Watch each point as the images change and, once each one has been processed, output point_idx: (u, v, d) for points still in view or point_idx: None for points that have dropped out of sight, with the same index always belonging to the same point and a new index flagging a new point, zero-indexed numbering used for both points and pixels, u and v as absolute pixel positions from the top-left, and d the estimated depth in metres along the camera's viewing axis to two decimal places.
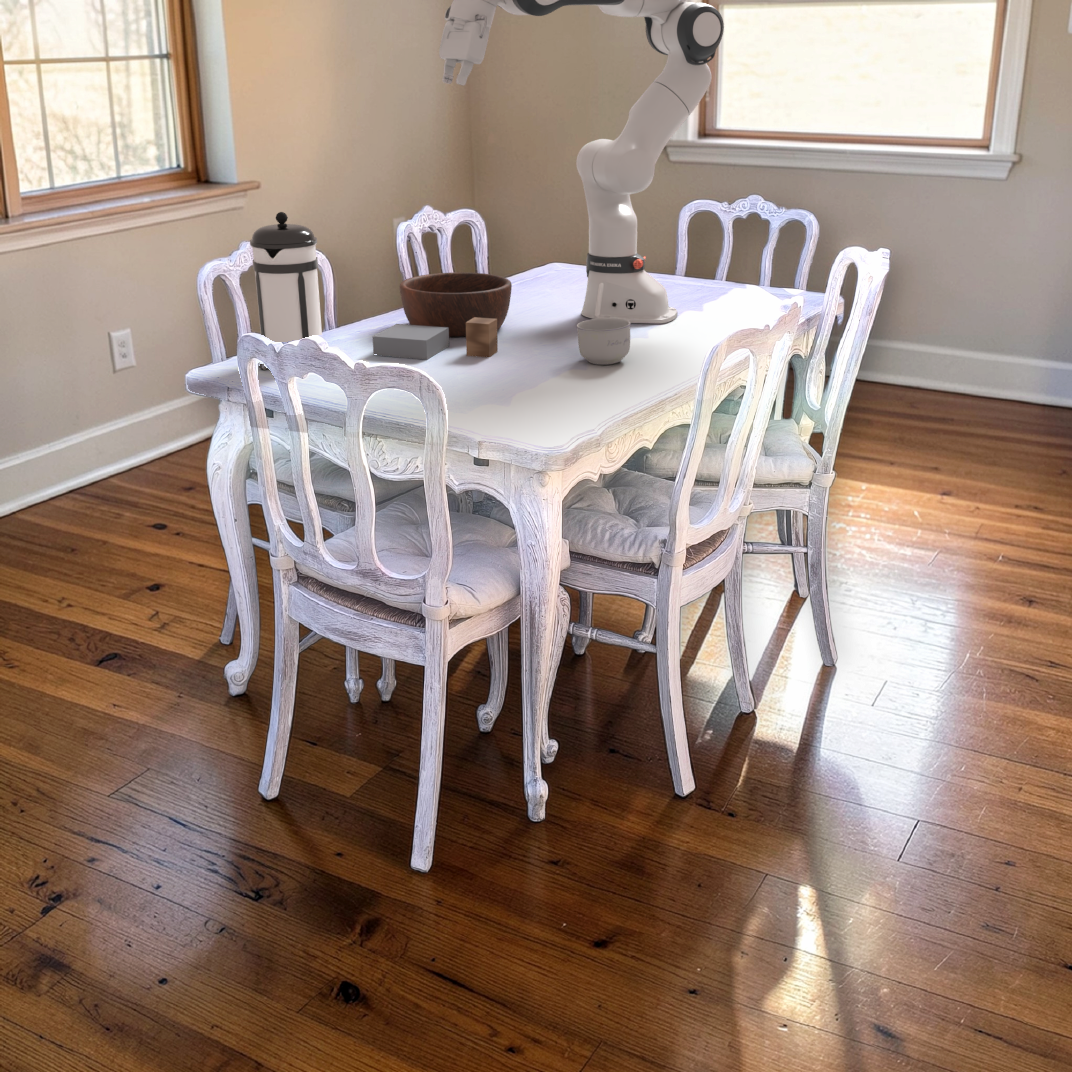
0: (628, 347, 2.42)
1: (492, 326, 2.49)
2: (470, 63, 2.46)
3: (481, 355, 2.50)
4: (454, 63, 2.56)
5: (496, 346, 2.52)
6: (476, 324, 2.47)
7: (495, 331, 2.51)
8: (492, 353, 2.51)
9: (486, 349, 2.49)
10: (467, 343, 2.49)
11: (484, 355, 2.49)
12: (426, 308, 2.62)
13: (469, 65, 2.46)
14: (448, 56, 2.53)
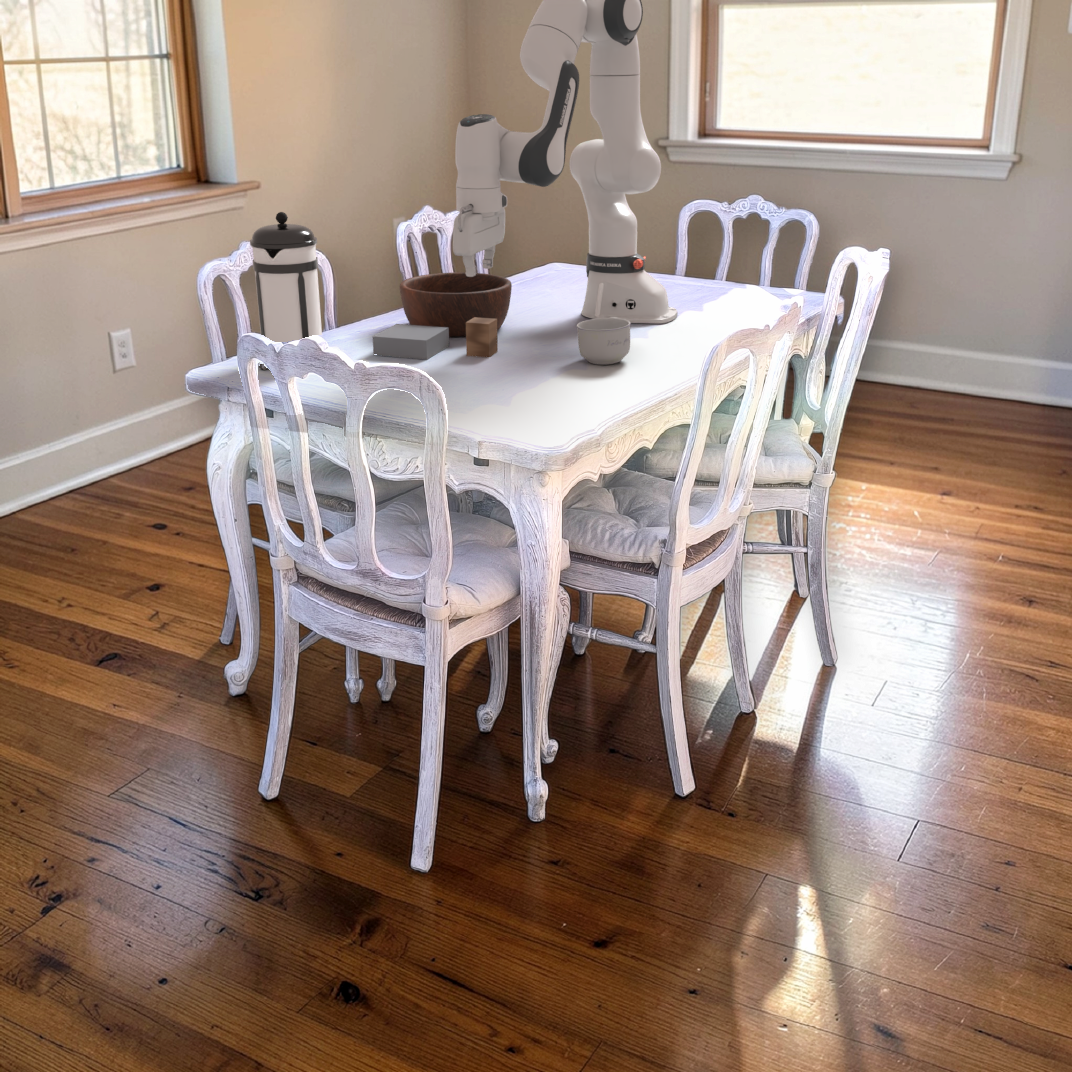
0: (628, 347, 2.42)
1: (492, 326, 2.49)
2: None
3: (481, 355, 2.50)
4: (491, 246, 2.48)
5: (496, 346, 2.52)
6: (476, 324, 2.47)
7: (495, 331, 2.51)
8: (492, 353, 2.51)
9: (486, 348, 2.49)
10: (467, 343, 2.49)
11: (484, 355, 2.49)
12: (426, 308, 2.62)
13: (468, 257, 2.38)
14: None
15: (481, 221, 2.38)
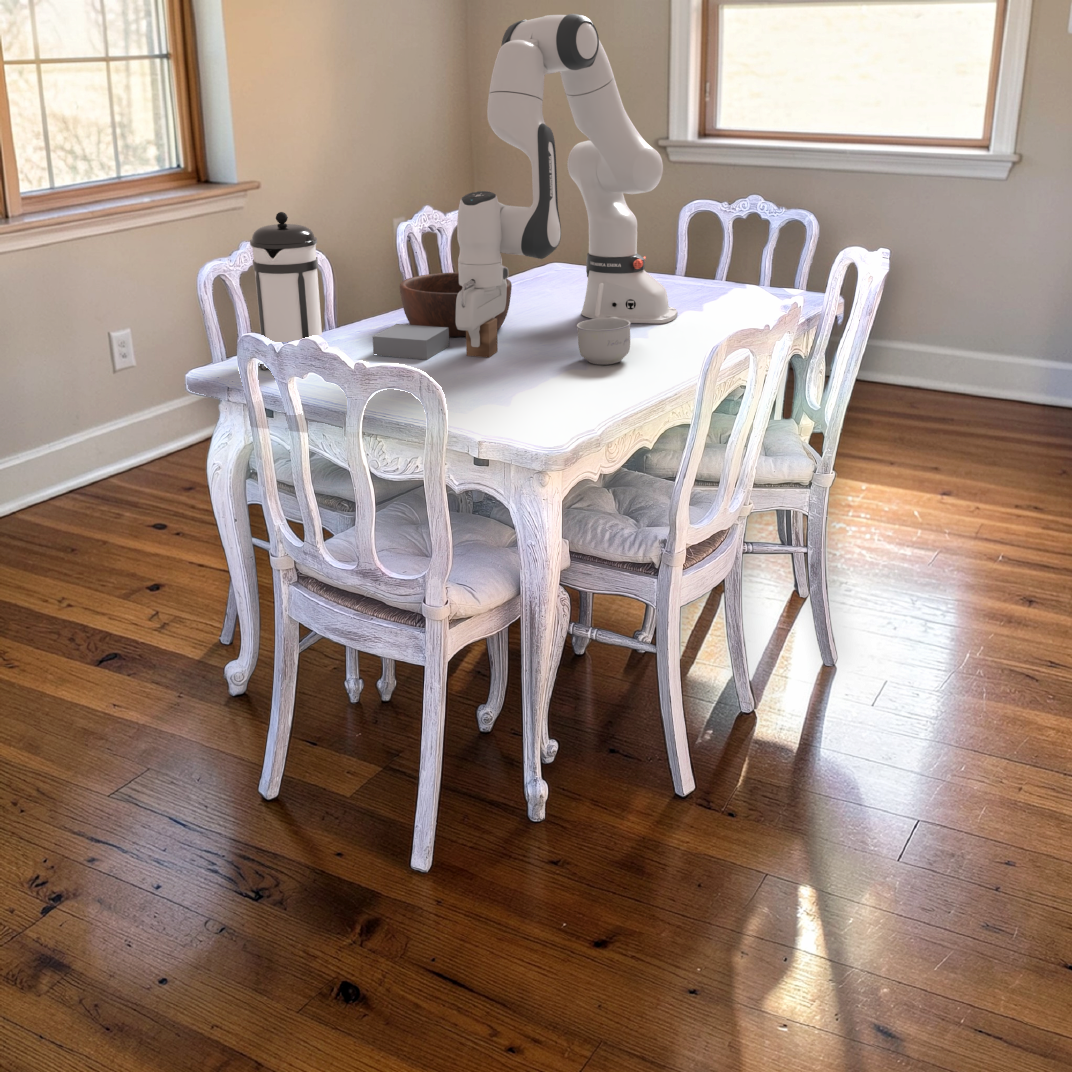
0: (628, 347, 2.42)
1: (492, 326, 2.49)
2: None
3: (481, 355, 2.49)
4: None
5: (496, 346, 2.52)
6: None
7: (495, 331, 2.51)
8: (492, 353, 2.51)
9: (486, 348, 2.49)
10: (467, 343, 2.49)
11: (484, 355, 2.49)
12: (426, 308, 2.62)
13: (474, 329, 2.45)
14: None
15: (483, 295, 2.44)
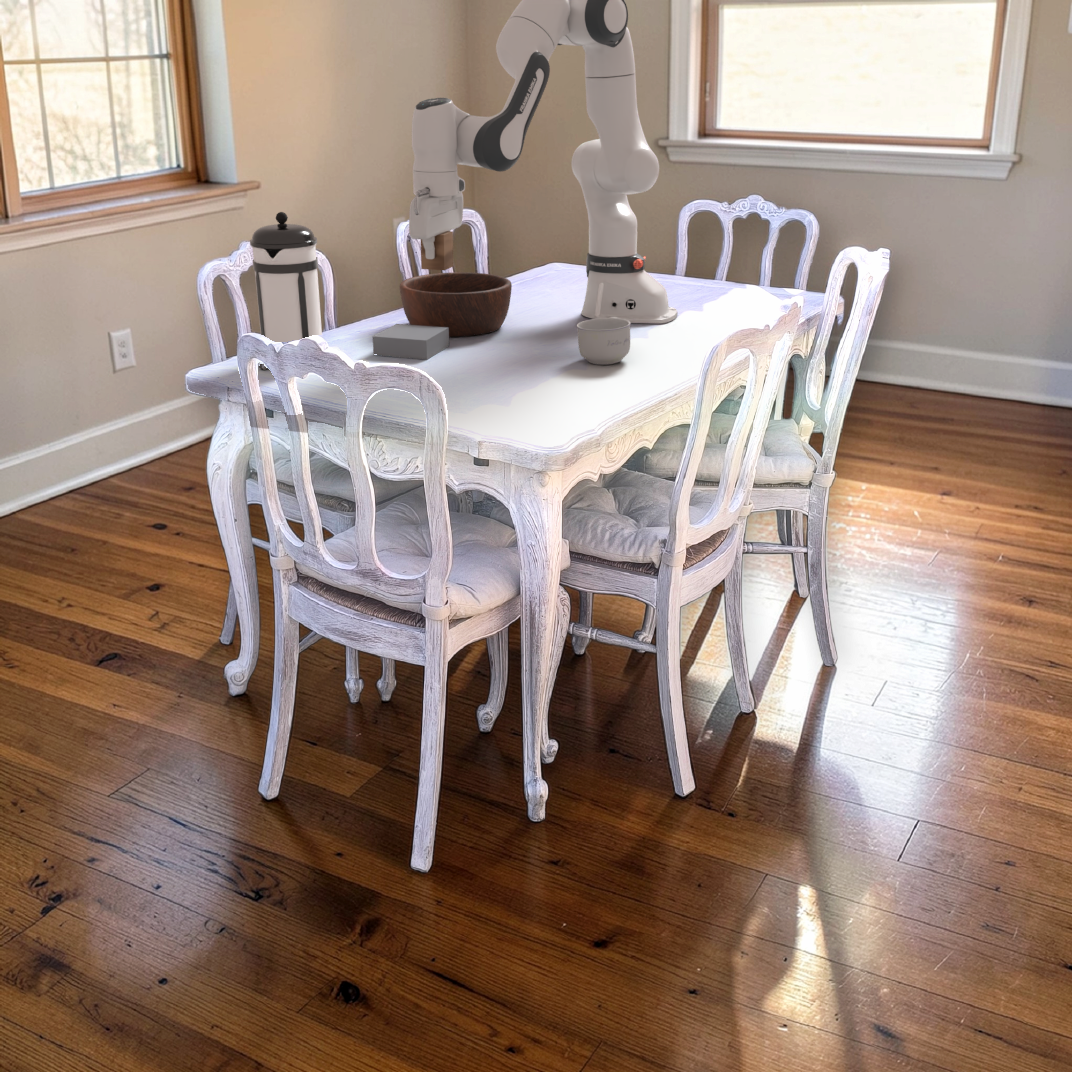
0: (628, 347, 2.42)
1: (447, 238, 2.43)
2: (428, 237, 2.39)
3: (436, 268, 2.44)
4: None
5: (452, 260, 2.47)
6: None
7: (451, 244, 2.45)
8: (447, 266, 2.45)
9: (442, 261, 2.43)
10: (422, 255, 2.44)
11: (439, 268, 2.44)
12: (426, 308, 2.62)
13: (428, 240, 2.39)
14: None
15: (438, 205, 2.38)
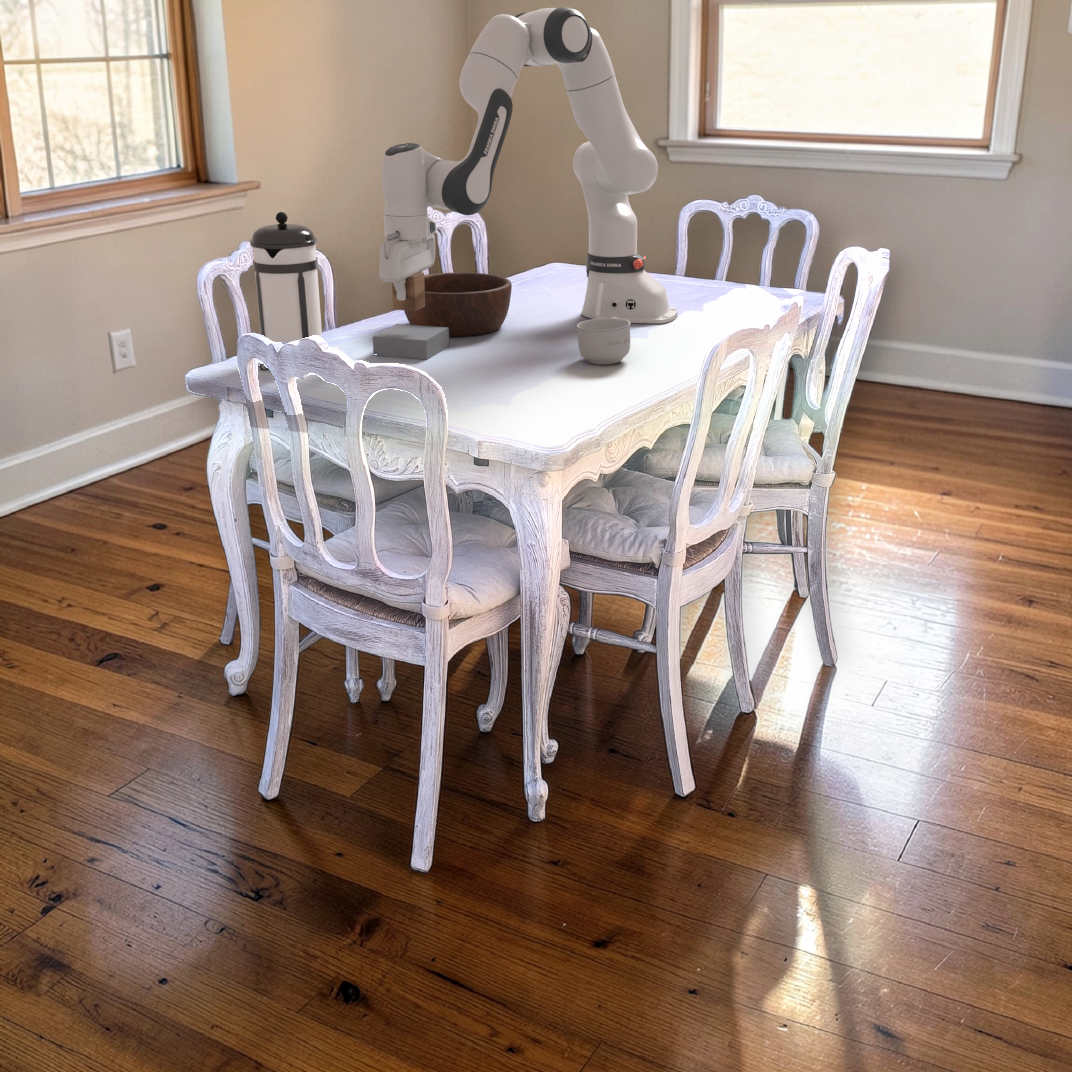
0: (628, 347, 2.42)
1: (418, 280, 2.48)
2: None
3: (407, 308, 2.49)
4: None
5: (423, 300, 2.52)
6: None
7: (422, 285, 2.50)
8: (419, 307, 2.50)
9: (413, 302, 2.48)
10: (393, 296, 2.49)
11: (410, 308, 2.48)
12: (426, 308, 2.62)
13: (399, 282, 2.44)
14: None
15: (408, 248, 2.43)
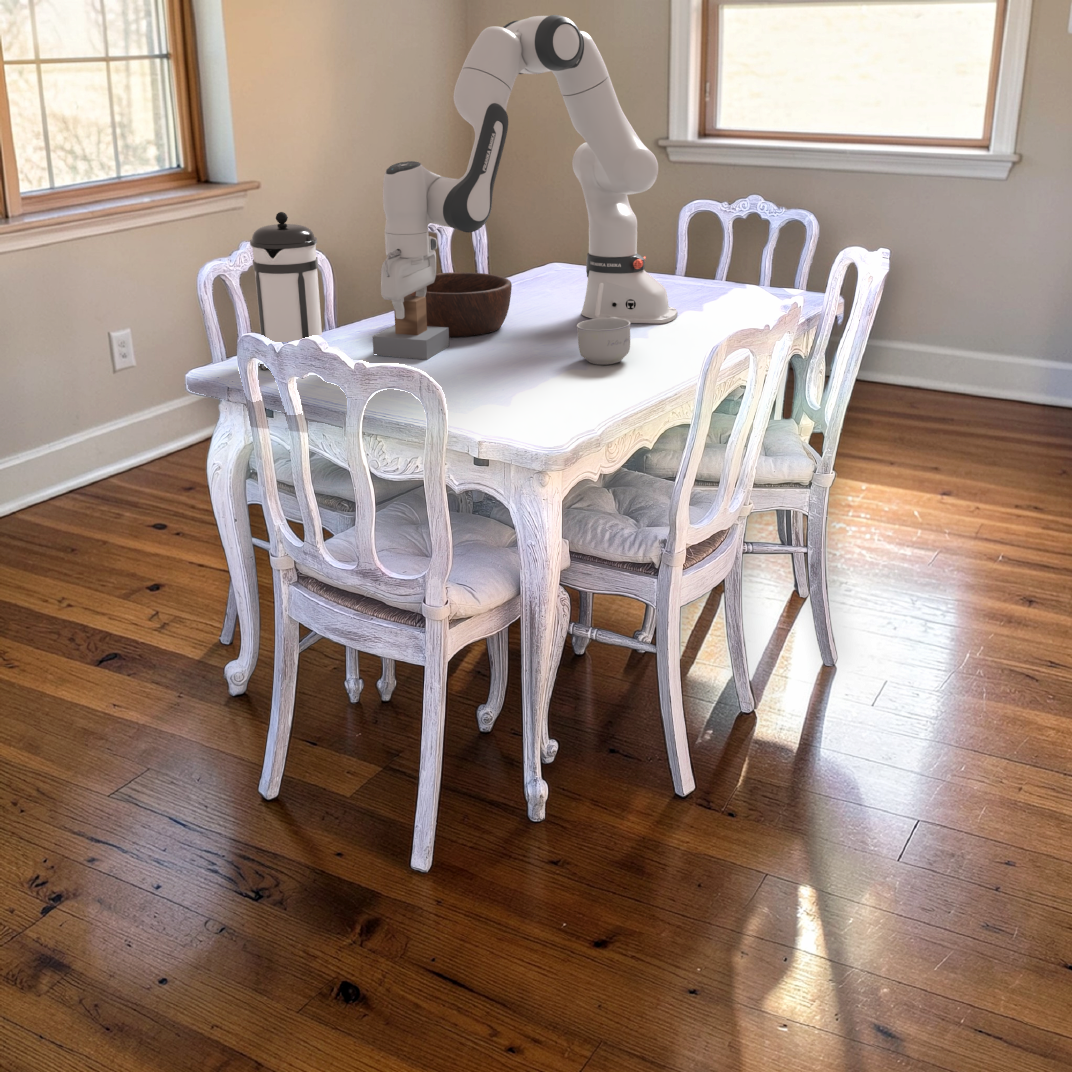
0: (628, 347, 2.42)
1: (420, 304, 2.50)
2: None
3: (409, 333, 2.51)
4: (422, 288, 2.54)
5: (425, 324, 2.54)
6: (404, 302, 2.48)
7: (424, 309, 2.52)
8: (421, 331, 2.52)
9: (415, 326, 2.50)
10: (396, 321, 2.51)
11: (412, 333, 2.50)
12: (426, 308, 2.62)
13: (397, 301, 2.44)
14: None
15: (409, 265, 2.44)
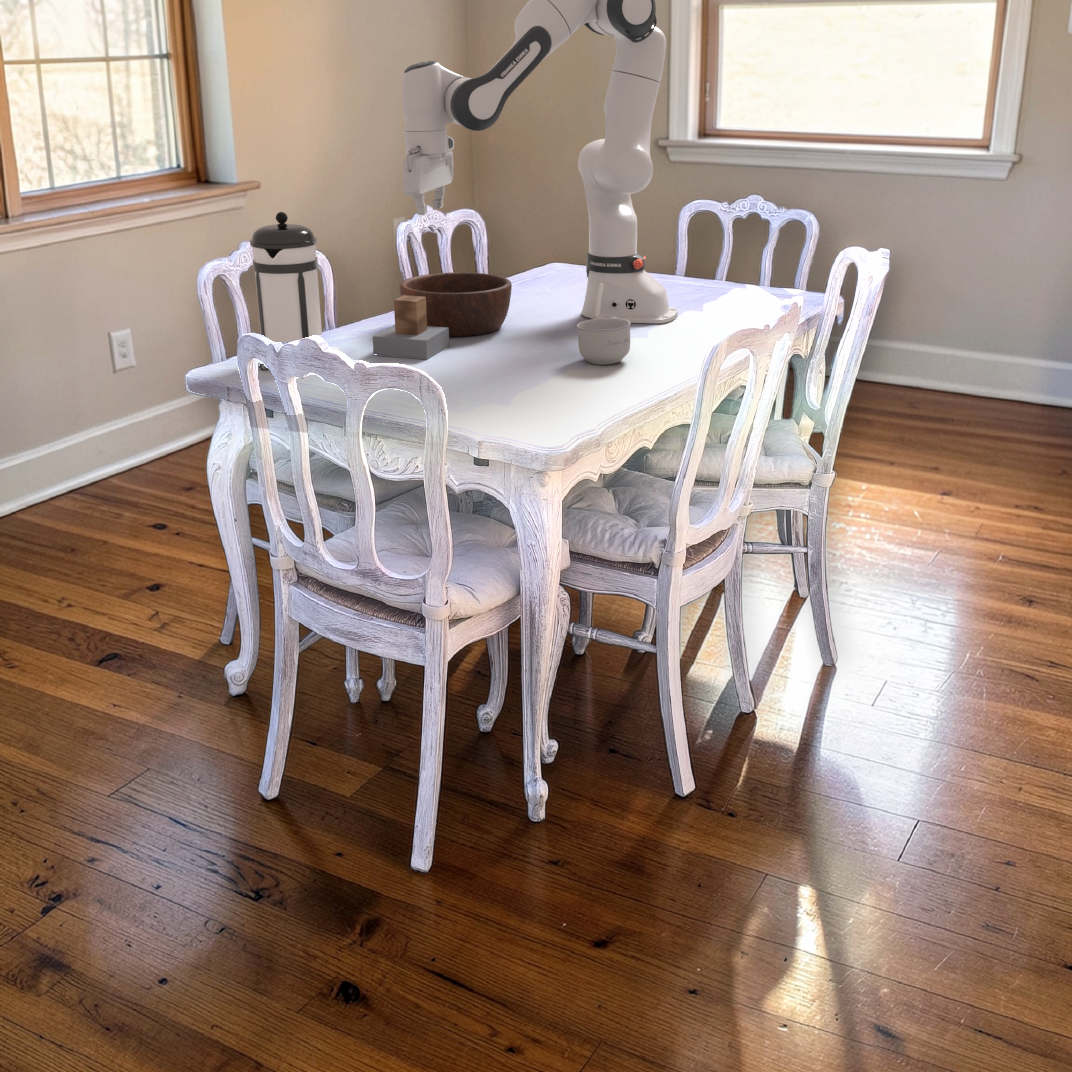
0: (628, 347, 2.42)
1: (420, 304, 2.50)
2: (419, 194, 2.54)
3: (409, 333, 2.51)
4: (440, 187, 2.64)
5: (425, 324, 2.54)
6: (404, 302, 2.48)
7: (424, 309, 2.52)
8: (421, 331, 2.52)
9: (415, 326, 2.50)
10: (396, 321, 2.51)
11: (412, 333, 2.50)
12: (426, 308, 2.62)
13: (419, 197, 2.54)
14: None
15: (429, 162, 2.54)
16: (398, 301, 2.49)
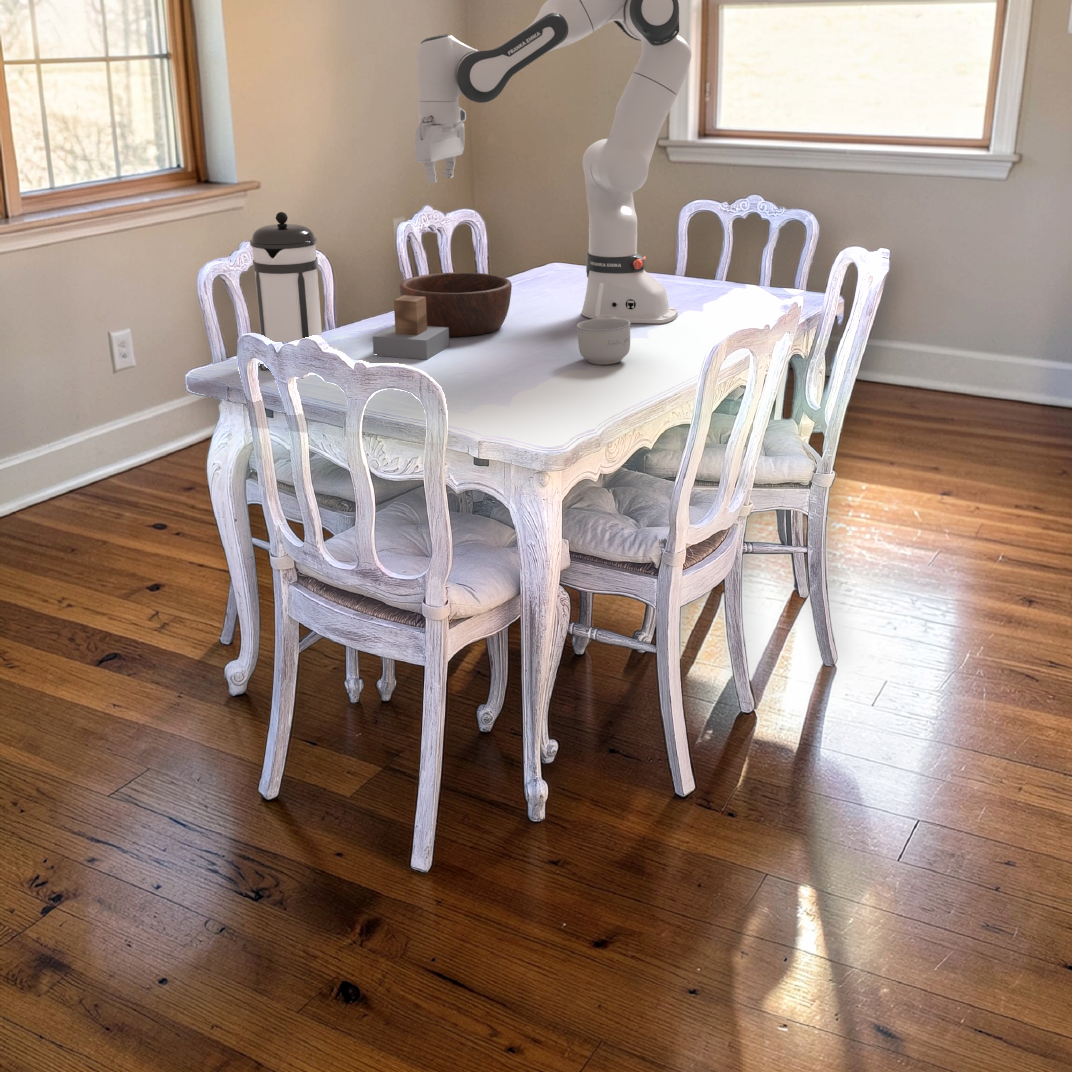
0: (628, 347, 2.42)
1: (420, 304, 2.50)
2: (430, 162, 2.64)
3: (409, 333, 2.51)
4: (451, 158, 2.74)
5: (425, 324, 2.54)
6: (404, 302, 2.48)
7: (424, 309, 2.52)
8: (421, 331, 2.52)
9: (415, 326, 2.50)
10: (396, 321, 2.51)
11: (412, 333, 2.50)
12: (426, 308, 2.62)
13: (430, 164, 2.64)
14: None
15: (441, 131, 2.64)
16: (398, 301, 2.49)
